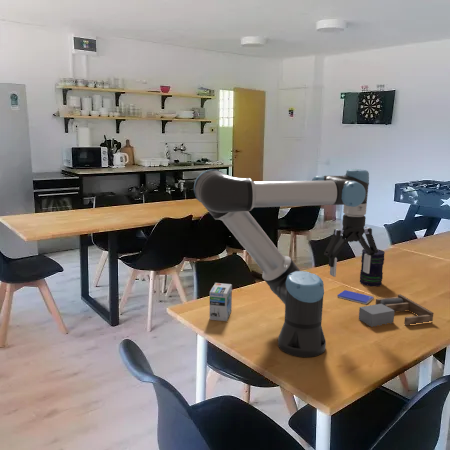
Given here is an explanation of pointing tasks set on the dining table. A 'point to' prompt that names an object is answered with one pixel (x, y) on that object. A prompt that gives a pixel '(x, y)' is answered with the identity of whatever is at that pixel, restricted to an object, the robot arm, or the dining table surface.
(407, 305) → the rack
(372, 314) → the plain gray cuboid
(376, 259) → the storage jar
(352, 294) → the hard drive
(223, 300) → the light bulb box
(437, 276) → the dining table surface
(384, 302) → the plain gray cylinder
